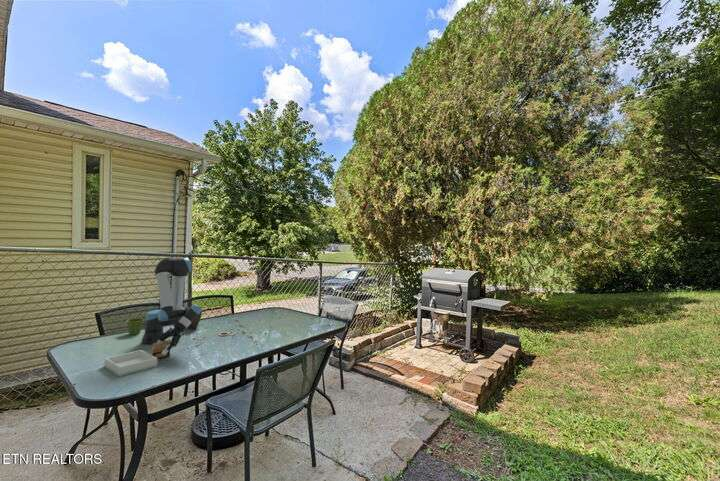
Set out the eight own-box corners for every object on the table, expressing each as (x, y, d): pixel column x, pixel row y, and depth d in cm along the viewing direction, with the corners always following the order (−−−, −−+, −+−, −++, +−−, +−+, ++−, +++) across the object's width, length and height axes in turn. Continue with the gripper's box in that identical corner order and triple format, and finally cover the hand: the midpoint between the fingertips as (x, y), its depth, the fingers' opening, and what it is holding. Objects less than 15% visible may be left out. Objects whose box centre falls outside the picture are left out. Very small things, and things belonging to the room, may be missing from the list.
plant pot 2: (178, 329, 272) (179, 311, 272) (190, 325, 287) (191, 307, 287) (193, 331, 270) (194, 312, 270) (205, 326, 285) (206, 309, 285)
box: (104, 366, 192) (104, 358, 192) (141, 357, 209) (141, 349, 209) (119, 376, 180) (119, 367, 180) (156, 366, 197) (157, 358, 197)
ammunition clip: (152, 361, 204) (153, 342, 204) (150, 360, 205) (152, 342, 205) (169, 356, 213) (170, 339, 213) (168, 356, 214) (169, 338, 214)
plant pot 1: (136, 336, 250) (137, 322, 250) (121, 335, 250) (122, 321, 250) (147, 332, 261) (147, 318, 261) (132, 331, 262) (133, 317, 262)
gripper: (195, 331, 215) (171, 359, 202) (176, 324, 229) (153, 350, 216) (188, 324, 211) (163, 353, 198) (169, 318, 224) (144, 344, 212)
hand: (157, 351), depth 207 cm, fingers open, 13 cm apart
